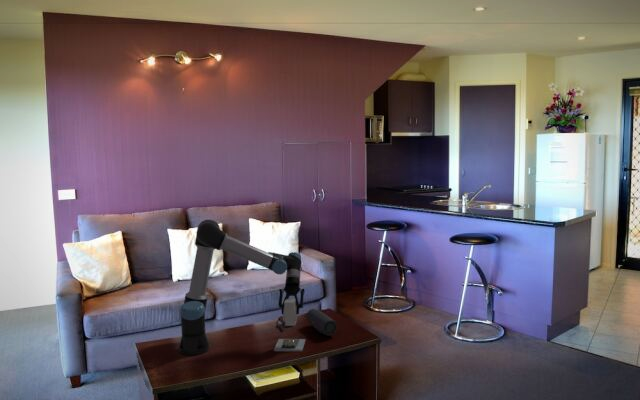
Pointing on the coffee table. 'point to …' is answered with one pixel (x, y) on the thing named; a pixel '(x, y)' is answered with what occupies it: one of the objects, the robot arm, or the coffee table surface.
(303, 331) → the coffee table surface
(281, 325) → the walkie-talkie
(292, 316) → the plug block
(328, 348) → the coffee table surface
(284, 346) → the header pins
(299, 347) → the board
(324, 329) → the bluetooth speaker
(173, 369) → the coffee table surface
